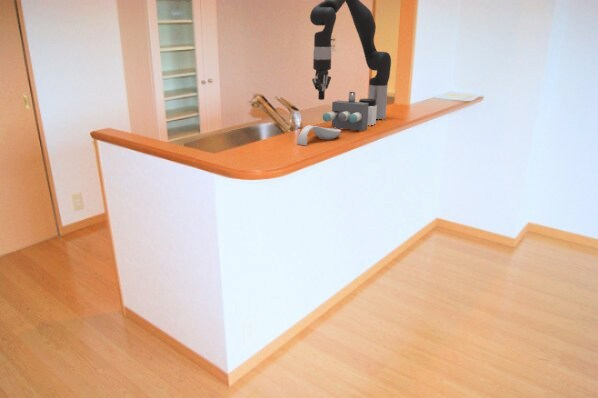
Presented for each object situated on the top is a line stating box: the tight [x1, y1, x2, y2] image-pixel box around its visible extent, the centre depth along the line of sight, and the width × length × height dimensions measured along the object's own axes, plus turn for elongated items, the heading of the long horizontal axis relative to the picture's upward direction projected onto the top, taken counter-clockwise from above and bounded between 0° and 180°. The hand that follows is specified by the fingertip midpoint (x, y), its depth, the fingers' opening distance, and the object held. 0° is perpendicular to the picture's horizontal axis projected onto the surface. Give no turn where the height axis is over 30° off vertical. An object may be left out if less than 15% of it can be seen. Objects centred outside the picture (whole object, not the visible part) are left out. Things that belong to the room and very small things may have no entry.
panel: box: [331, 99, 369, 132], centre depth 223 cm, size 6×16×12 cm, turn 59°
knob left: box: [322, 110, 339, 123], centre depth 220 cm, size 11×4×4 cm, turn 149°
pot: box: [348, 91, 356, 103], centre depth 222 cm, size 3×3×5 cm
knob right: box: [349, 112, 362, 123], centre depth 218 cm, size 11×4×4 cm, turn 149°
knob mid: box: [338, 111, 350, 122], centre depth 221 cm, size 11×4×4 cm, turn 149°
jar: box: [358, 98, 377, 126], centre depth 232 cm, size 9×8×12 cm
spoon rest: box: [297, 124, 342, 146], centre depth 201 cm, size 24×12×7 cm, turn 142°
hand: (321, 99), depth 209 cm, fingers closed
